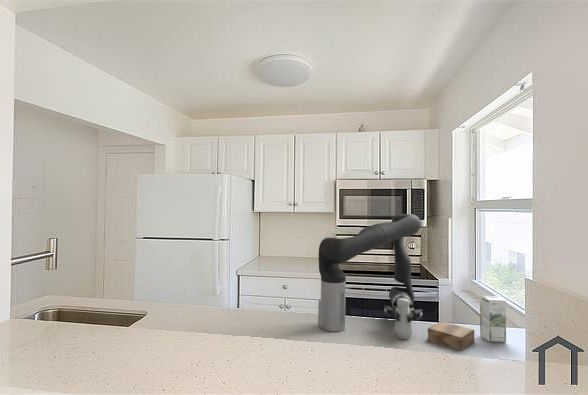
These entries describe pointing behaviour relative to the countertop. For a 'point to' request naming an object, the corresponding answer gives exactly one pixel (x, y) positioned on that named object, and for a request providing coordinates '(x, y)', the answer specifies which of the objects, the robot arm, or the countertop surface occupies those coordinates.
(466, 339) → the wooden block
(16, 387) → the countertop surface
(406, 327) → the salt shaker
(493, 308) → the syrup box
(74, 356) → the countertop surface
